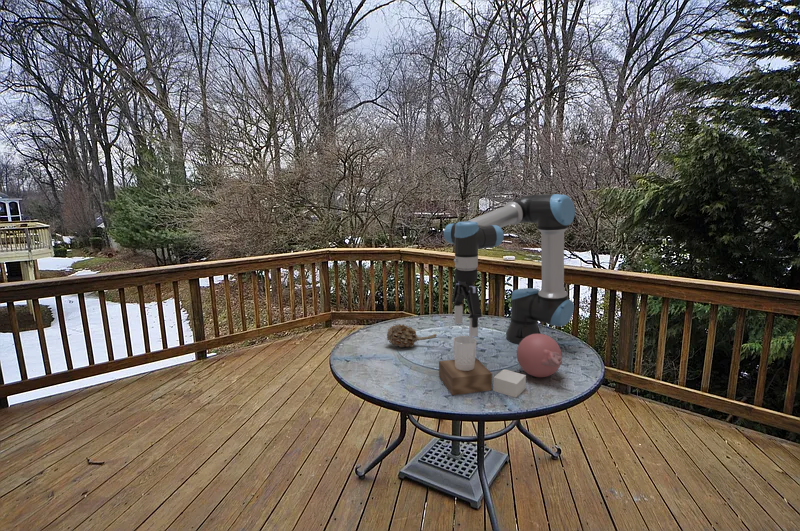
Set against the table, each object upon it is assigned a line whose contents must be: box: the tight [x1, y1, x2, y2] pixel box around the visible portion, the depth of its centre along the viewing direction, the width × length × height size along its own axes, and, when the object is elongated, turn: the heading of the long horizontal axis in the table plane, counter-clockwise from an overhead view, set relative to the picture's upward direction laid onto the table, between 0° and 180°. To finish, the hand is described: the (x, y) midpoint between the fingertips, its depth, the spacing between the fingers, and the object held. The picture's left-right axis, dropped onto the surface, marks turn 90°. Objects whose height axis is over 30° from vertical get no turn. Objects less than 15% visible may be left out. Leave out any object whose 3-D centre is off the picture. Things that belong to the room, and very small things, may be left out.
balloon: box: [516, 333, 563, 378], centre depth 144 cm, size 15×20×15 cm
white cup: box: [453, 335, 478, 371], centre depth 140 cm, size 8×8×10 cm
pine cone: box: [386, 324, 437, 348], centre depth 176 cm, size 22×10×10 cm, turn 92°
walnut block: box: [438, 356, 493, 396], centre depth 141 cm, size 14×14×6 cm
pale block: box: [492, 369, 527, 399], centre depth 137 cm, size 8×8×5 cm
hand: (465, 329), depth 139 cm, fingers open, 13 cm apart
